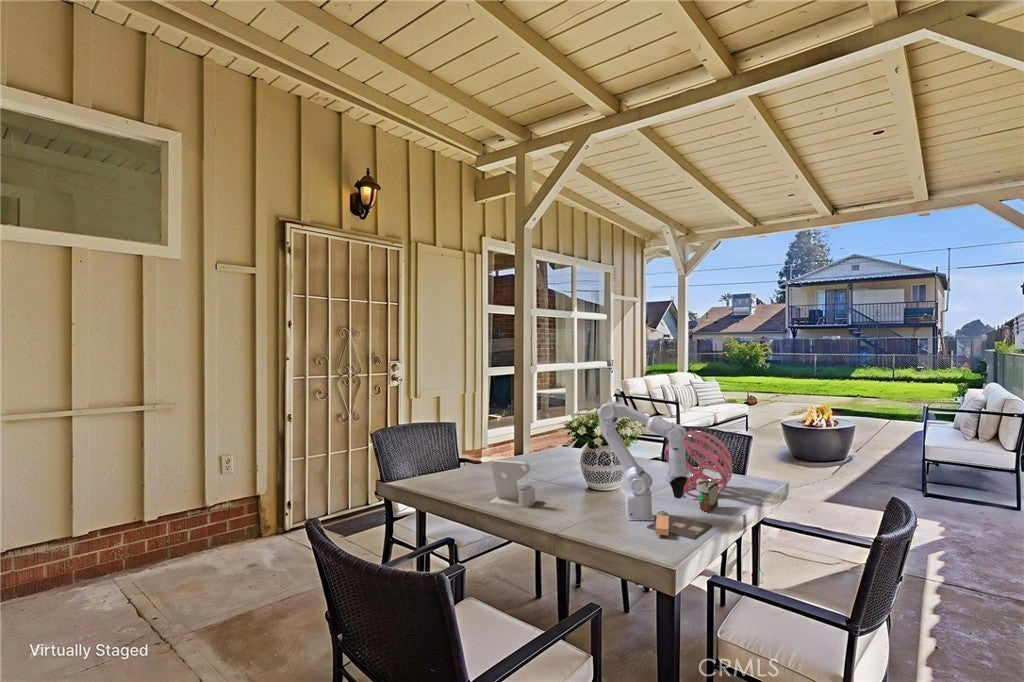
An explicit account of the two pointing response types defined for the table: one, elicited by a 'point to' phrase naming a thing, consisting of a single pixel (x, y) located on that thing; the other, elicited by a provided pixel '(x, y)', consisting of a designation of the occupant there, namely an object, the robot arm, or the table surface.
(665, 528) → the swing bar
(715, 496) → the food container
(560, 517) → the table surface
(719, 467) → the spiral basket
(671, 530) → the label plate
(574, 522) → the table surface
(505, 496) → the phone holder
